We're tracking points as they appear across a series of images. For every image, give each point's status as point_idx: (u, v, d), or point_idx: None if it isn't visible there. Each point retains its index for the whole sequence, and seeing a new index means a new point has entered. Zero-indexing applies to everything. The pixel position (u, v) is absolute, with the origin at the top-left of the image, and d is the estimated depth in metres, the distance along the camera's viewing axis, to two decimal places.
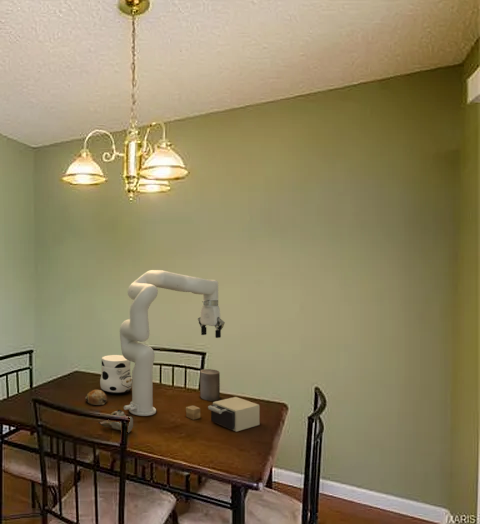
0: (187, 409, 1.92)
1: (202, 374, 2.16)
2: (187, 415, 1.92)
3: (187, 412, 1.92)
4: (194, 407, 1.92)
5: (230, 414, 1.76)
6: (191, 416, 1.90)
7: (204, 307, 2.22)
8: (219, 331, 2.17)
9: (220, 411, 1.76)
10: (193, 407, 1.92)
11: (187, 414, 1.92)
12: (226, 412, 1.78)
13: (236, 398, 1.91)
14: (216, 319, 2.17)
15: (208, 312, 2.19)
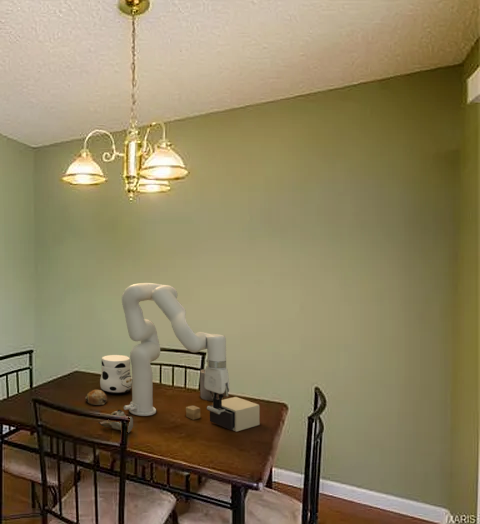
0: (187, 409, 1.92)
1: (202, 374, 2.16)
2: (187, 415, 1.92)
3: (187, 412, 1.92)
4: (194, 407, 1.92)
5: (228, 414, 1.76)
6: (191, 416, 1.90)
7: (209, 369, 1.79)
8: (220, 401, 1.77)
9: (219, 411, 1.75)
10: (193, 407, 1.92)
11: (187, 414, 1.92)
12: (225, 412, 1.77)
13: (236, 398, 1.91)
14: (224, 385, 1.74)
15: (214, 376, 1.76)
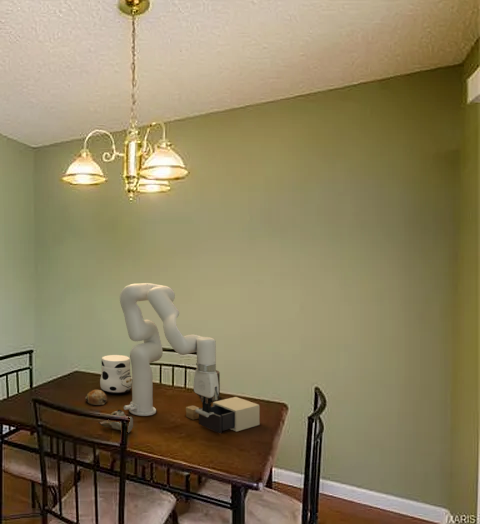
0: (187, 409, 1.92)
1: None
2: (187, 415, 1.92)
3: (187, 412, 1.92)
4: (194, 407, 1.92)
5: (217, 417, 1.73)
6: (191, 416, 1.90)
7: (198, 372, 1.76)
8: (209, 405, 1.74)
9: (207, 414, 1.72)
10: (193, 407, 1.92)
11: (187, 414, 1.92)
12: (213, 415, 1.74)
13: (236, 398, 1.91)
14: (213, 389, 1.71)
15: (203, 379, 1.73)
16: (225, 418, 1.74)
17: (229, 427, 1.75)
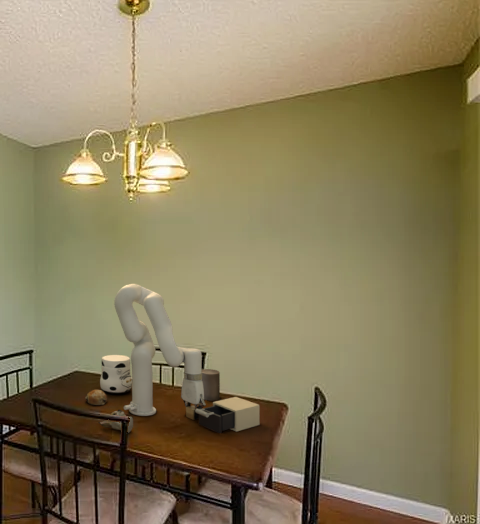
0: (187, 409, 1.92)
1: (202, 374, 2.16)
2: (187, 415, 1.92)
3: (187, 412, 1.92)
4: (194, 407, 1.92)
5: (217, 417, 1.73)
6: (191, 416, 1.90)
7: (185, 381, 1.92)
8: None
9: (207, 414, 1.72)
10: (193, 407, 1.92)
11: (187, 414, 1.92)
12: (213, 415, 1.74)
13: (236, 398, 1.91)
14: (199, 397, 1.87)
15: (190, 387, 1.89)
16: (225, 418, 1.74)
17: (229, 427, 1.75)
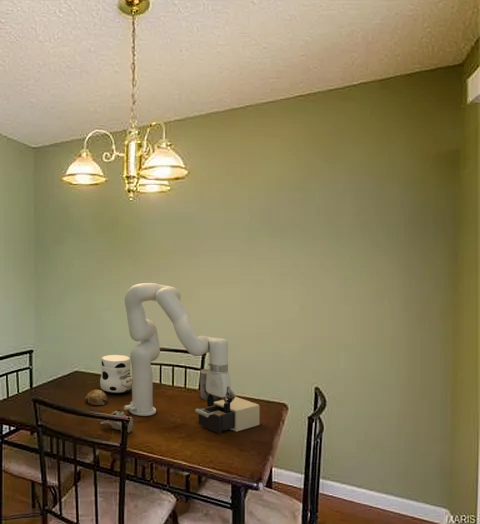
0: None
1: (202, 374, 2.16)
2: None
3: None
4: (219, 412, 1.80)
5: (217, 417, 1.73)
6: None
7: (210, 372, 1.80)
8: (228, 405, 1.75)
9: (207, 414, 1.72)
10: (219, 412, 1.80)
11: None
12: (213, 415, 1.74)
13: (236, 398, 1.91)
14: (225, 389, 1.74)
15: (215, 380, 1.77)
16: (225, 418, 1.74)
17: (229, 427, 1.75)
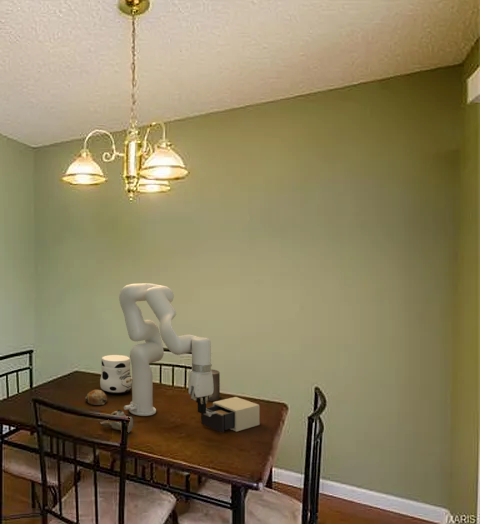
0: None
1: None
2: None
3: None
4: (222, 412, 1.80)
5: (219, 416, 1.73)
6: None
7: None
8: (199, 405, 1.74)
9: (210, 414, 1.73)
10: (221, 412, 1.80)
11: None
12: (216, 415, 1.75)
13: (236, 398, 1.91)
14: (190, 387, 1.73)
15: None
16: (227, 417, 1.75)
17: (231, 426, 1.76)
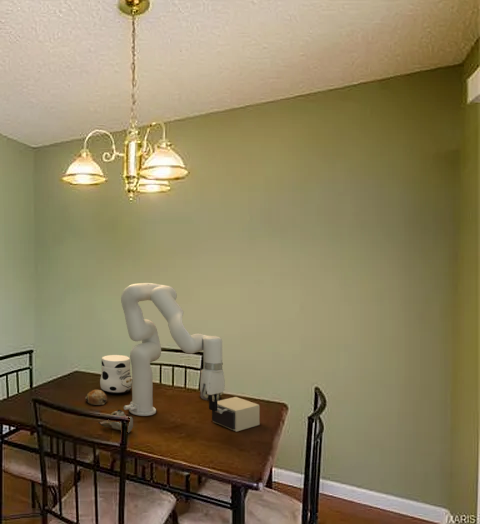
0: None
1: None
2: None
3: None
4: None
5: (230, 413, 1.76)
6: None
7: None
8: (210, 402, 1.77)
9: (221, 411, 1.76)
10: None
11: None
12: (227, 412, 1.78)
13: (236, 398, 1.91)
14: (201, 385, 1.76)
15: None
16: None
17: None
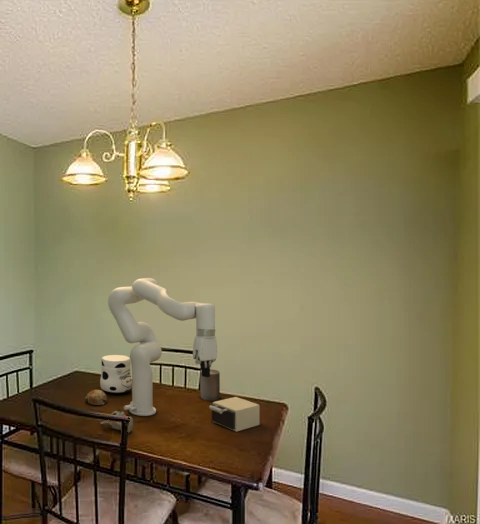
0: None
1: None
2: None
3: None
4: None
5: (230, 413, 1.76)
6: None
7: None
8: (203, 369, 1.78)
9: (221, 411, 1.76)
10: None
11: None
12: (227, 412, 1.78)
13: (236, 398, 1.91)
14: (194, 351, 1.77)
15: None
16: None
17: None
